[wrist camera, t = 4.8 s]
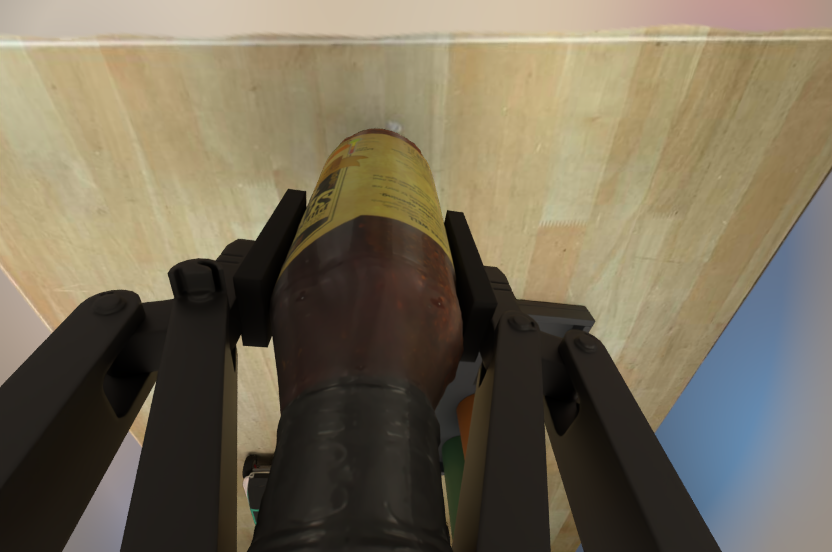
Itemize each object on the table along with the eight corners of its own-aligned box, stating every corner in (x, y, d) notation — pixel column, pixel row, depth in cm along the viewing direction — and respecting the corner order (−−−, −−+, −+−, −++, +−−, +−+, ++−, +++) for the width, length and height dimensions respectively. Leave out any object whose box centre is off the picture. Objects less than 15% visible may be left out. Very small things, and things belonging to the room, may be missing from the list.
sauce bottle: (328, 114, 19) (-45, 644, 3) (441, 135, 20) (662, 622, 4) (323, 223, 23) (153, 725, 6) (419, 236, 24) (482, 704, 7)
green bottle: (446, 433, 47) (472, 615, 33) (492, 435, 48) (537, 613, 34) (437, 458, 51) (456, 633, 36) (480, 460, 52) (515, 631, 37)
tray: (459, 293, 35) (463, 308, 33) (585, 306, 37) (595, 320, 35) (410, 458, 52) (411, 474, 50) (498, 461, 54) (502, 476, 52)
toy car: (259, 493, 55) (248, 533, 51) (247, 451, 48) (233, 492, 44) (298, 493, 56) (290, 532, 51) (292, 451, 49) (282, 492, 45)
